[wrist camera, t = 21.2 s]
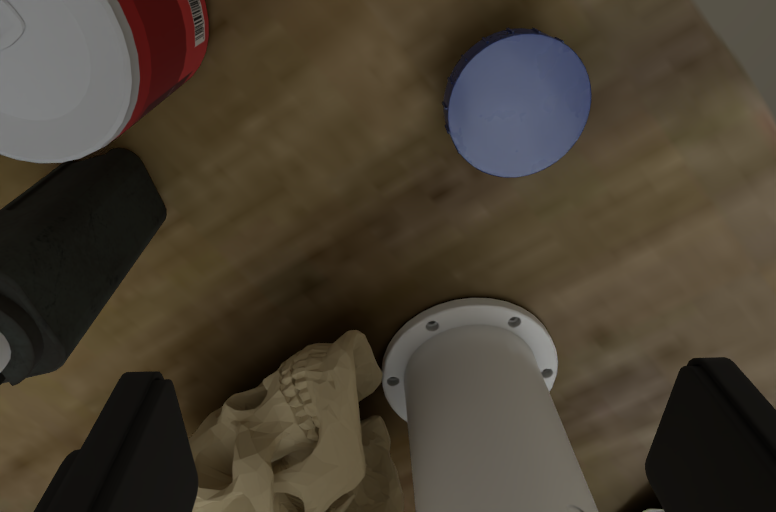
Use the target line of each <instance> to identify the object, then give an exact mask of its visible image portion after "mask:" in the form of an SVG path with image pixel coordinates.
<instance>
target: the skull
mask: <svg viewBox="0 0 776 512" xmlns="http://www.w3.org/2000/svg"><path fill="white" fill-rule="evenodd" d="M382 375H383V373H382V371H381V369H380V368H379V366H378V365H377V362H376V360H375V358H374V355H373V352H372V349H371V346H370V345H369V343H368V341H367V338H366V336H365V335H364V334H363V333H361V332H360V331H358V330H350V331H347V332H346V333H345V334H343V335H342V336H341V337H340V338H339V339H337V340H336V341H335V342H334V343H315V344H312V345H309V346H306V347H305V348H304V349H303V350H301V351H299V352H297V353H296V354H294V355H293V356H291V357H290V358H289V359H288V360H286V361H284V362H282V364H281V366H280V367H279V369H278V370H277V371H276V372H274V373H273V374H271V375H269V376H268V377H267V378H265V379H264V380H263V382H262V383H261V384H260V385H259V386H258V387H256V388H254V389H251V390H248V391H245V392H241V393H236V394H233V395H232V396H231V397H230V398H228V399H227V400H226V401H225V403H224V405H223V406H222V407H221V408H219V409H217V410H216V411H214V412H212V413H210V414H209V415H208V417H207V418H206V419H205V420H204V421H203V422H202V424H201V425H200V426H199V428H198V429H197V430H196V432H195V433H194V434H193V435H192V436H191V437H190V439H189V444H190V448H191V451H192V455H193V459H194V463H195V466H196V470H197V474H198V492H197V497H196V500H195V504H194V507H193V510H192V512H404V496H403V491H402V488H401V484H400V480H399V476H398V472H397V468H396V466H395V464H394V462H393V461H392V459H391V456H390V445H391V439H390V436H389V433H388V431H387V428H386V425H385V422H384V420H383V419H382V417H380V416H374V415H373V416H371V417H369V418H366V419H364V420H362V421H360V415H359V405H358V402H359V401H361V400H362V399H363V398H365V397H367V396H368V395H370V394H372V393H373V392H374V391H375V390H376V388H377V387H378V386H379V384H380V383H381V380H382Z"/></svg>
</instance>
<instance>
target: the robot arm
mask: <svg viewBox="0 0 776 512" xmlns="http://www.w3.org/2000/svg"><path fill="white" fill-rule="evenodd" d="M557 368H558V358H557V351H556V348H555V346H554V343H553V341H552V339H551V336H550V335H549V333H548V331H547V330H546V328H545V326H544V325H543V324H542V323H541V322H540V321H539V320H538V319H537V318H536V317H535V316H534V315H533V314H531V313H530V312H528V311H527V310H525V309H523V308H522V307H520V306H517V305H514V304H512V303H509V302H507V301H502V300H497V299H492V298H466V299H458V300H452V301H449V302H445V303H442V304H439V305H436V306H434V307H432V308H429V309H427V310H425V311H423V312H421V313H420V314H418V315H417V316H415V317H414V318H412V319H411V320H409V321H408V322H407V323H406V324H405V325H404V326H403V327H402V328H401V329H400V330H399V331H398V332H397V333H396V334H395V336H394V337H393V338H392V340H391V341H390V343H389V344H388V347H387V349H386V352H385V354H384V357H383V362H382V370H381V371H382V373H383V375H382V386H383V390H384V394H385V397H386V399H387V401H388V403H389V404H390V406H391V408H392V409H393V410H394V411H395V412H396V413H397V414H398V416H399V417H401V418H402V419H403V420H405V421H406V422H407V423H408V434H409V445H410V455H411V466H412V477H413V487H414V498H415V509H416V512H599V511H598V509H597V507H596V504H595V502H594V499H593V497H592V495H591V492H590V490H589V487H588V485H587V482H586V480H585V478H584V475H583V473H582V470H581V468H580V466H579V463H578V461H577V458H576V456H575V453H574V451H573V449H572V446H571V444H570V441H569V439H568V436H567V434H566V432H565V429H564V427H563V424H562V422H561V420H560V417H559V415H558V412H557V410H556V407H555V405H554V403H553V400H552V398H551V395H550V393H549V392H550V390H551V389H552V387H553V384H554V381H555V378H556V376H557ZM645 470H646V475H647V478H648V481H649V483H650V485H651V487H652V489H653V490H654V492H655V494H656V496H657V498H658V500H659V502H660V504H661V505H662V507H663V509H664V511H665V512H776V410H775V409H774V407H773V406H772V405H771V404H770V403H769V402H768V401H767V400H766V398H765V397H764V396H763V395H762V394H761V393H760V392H759V390H758V389H757V388H756V387H755V386H754V385H753V384H752V383H751V381H750V380H749V379H748V378H747V377H746V376H745V375H744V373H743V372H742V371H741V370H740V369H739V368H738V367H737V365H736V364H735V363H734V362H733V361H731V360H730V359H728V358H725V357H719V358H693V359H691V360H690V361H689V363H688V364H687V366H683V367H682V368H681V369H680V371H679V373H678V376H677V379H676V381H675V384H674V387H673V389H672V392H671V395H670V397H669V400H668V403H667V405H666V408H665V411H664V413H663V416H662V419H661V421H660V424H659V427H658V429H657V432H656V435H655V437H654V440H653V443H652V445H651V448H650V451H649V453H648V456H647V459H646V463H645ZM197 492H198V474H197V470H196V466H195V463H194V459H193V455H192V451H191V448H190V444H189V440H188V437H187V433H186V429H185V426H184V422H183V418H182V414H181V411H180V407H179V403H178V400H177V396H176V392H175V389H174V385H173V382H172V381H171V380H169V379H165V380H164V378H163V376H162V374H161V373H160V372H126V373H124V374H123V375H122V376H121V378H120V379H119V381H118V383H117V384H116V386H115V388H114V390H113V392H112V393H111V395H110V397H109V399H108V401H107V402H106V404H105V406H104V408H103V410H102V411H101V413H100V415H99V417H98V419H97V420H96V422H95V424H94V426H93V428H92V429H91V431H90V433H89V435H88V437H87V438H86V440H85V442H84V444H83V446H82V447H81V449H79V450H74V451H73V452H71V453H70V454H69V455H68V456H67V457H66V458H65V460H64V461H63V462H62V464H61V465H60V467H59V469H58V471H57V472H56V474H55V476H54V477H53V479H52V481H51V483H50V484H49V486H48V488H47V490H46V491H45V493H44V495H43V497H42V498H41V500H40V502H39V503H38V505H37V507H36V509H35V510H34V512H192V510H193V507H194V504H195V500H196V497H197Z"/></svg>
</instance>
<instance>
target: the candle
mask: <svg viewBox="0 0 776 512" xmlns="http://www.w3.org/2000/svg"><path fill="white" fill-rule="evenodd" d="M165 218H166V209H165V206H164V204H163V202H162V200H161V198H160V196H159V194H158V192H157V190H156V188H155V186H154V184H153V182H152V180H151V178H150V176H149V174H148V173H147V171H146V169H145V167H144V165H143V163H142V161H141V160H140V158H138V157H137V156H136V155H135V154H134V153H132V152H131V151H128V150H126V149H120V148H116V149H111V150H110V151H109V152H108V153H107V154H105V155H101V156H98V157H94V158H90V159H86V160H82V161H79V162H75V163H73V162H72V161H66V162H64V163H62V164H61V165H60V166H58V167H57V168H56V169H54V170H53V171H52V172H50V173H49V174H48V175H46V176H45V177H44V178H42V179H41V180H40V181H38V182H37V183H36V184H34V185H33V186H32V187H30V188H29V189H28V190H26V191H25V192H24V193H22V194H21V195H20V196H18V197H17V198H16V199H14V200H13V201H12V202H10V203H9V204H7V205H6V206H5V207H3V208H2V209H1V210H0V385H1V384H2V383H6V382H10V384H11V385H12V386H13V385H16V384H18V383H20V382H21V381H22V380H24V379H25V378H28V377H32V376H37V375H41V374H45V373H50V372H53V371H55V370H57V369H58V368H60V367H61V366H63V364H64V363H65V361H66V360H67V358H68V357H69V356H70V354H71V353H72V351H73V350H74V348H75V347H76V346H77V344H78V343H79V341H80V340H81V339H82V337H83V336H84V334H85V333H86V331H87V330H88V329H89V327H90V326H91V324H92V323H93V321H94V320H95V319H96V317H97V316H98V314H99V313H100V311H101V310H102V309H103V307H104V306H105V304H106V303H107V302H108V300H109V299H110V297H111V296H112V294H113V293H114V292H115V290H116V289H117V287H118V286H119V284H120V283H121V282H122V280H123V279H124V277H125V276H126V274H127V273H128V272H129V270H130V269H131V267H132V266H133V265H134V263H135V262H136V260H137V259H138V257H139V256H140V255H141V253H142V252H143V250H144V249H145V247H146V246H147V245H148V243H149V242H150V240H151V239H152V237H153V236H154V235H155V233H156V232H157V230H158V229H159V228H160V226H161V225H162V223H163V222H164V220H165Z"/></svg>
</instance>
